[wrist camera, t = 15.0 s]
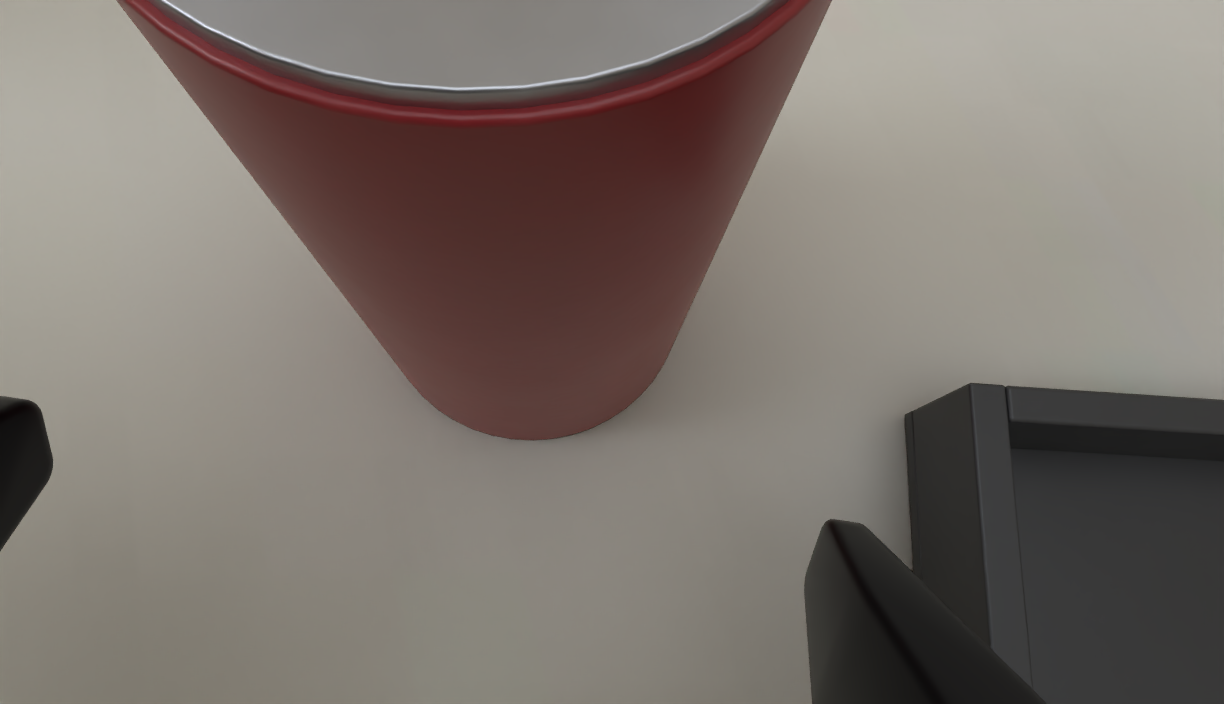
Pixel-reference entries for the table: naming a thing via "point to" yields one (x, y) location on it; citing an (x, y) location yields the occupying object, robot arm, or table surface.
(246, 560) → the table surface
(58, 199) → the table surface
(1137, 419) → the tray
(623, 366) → the can
